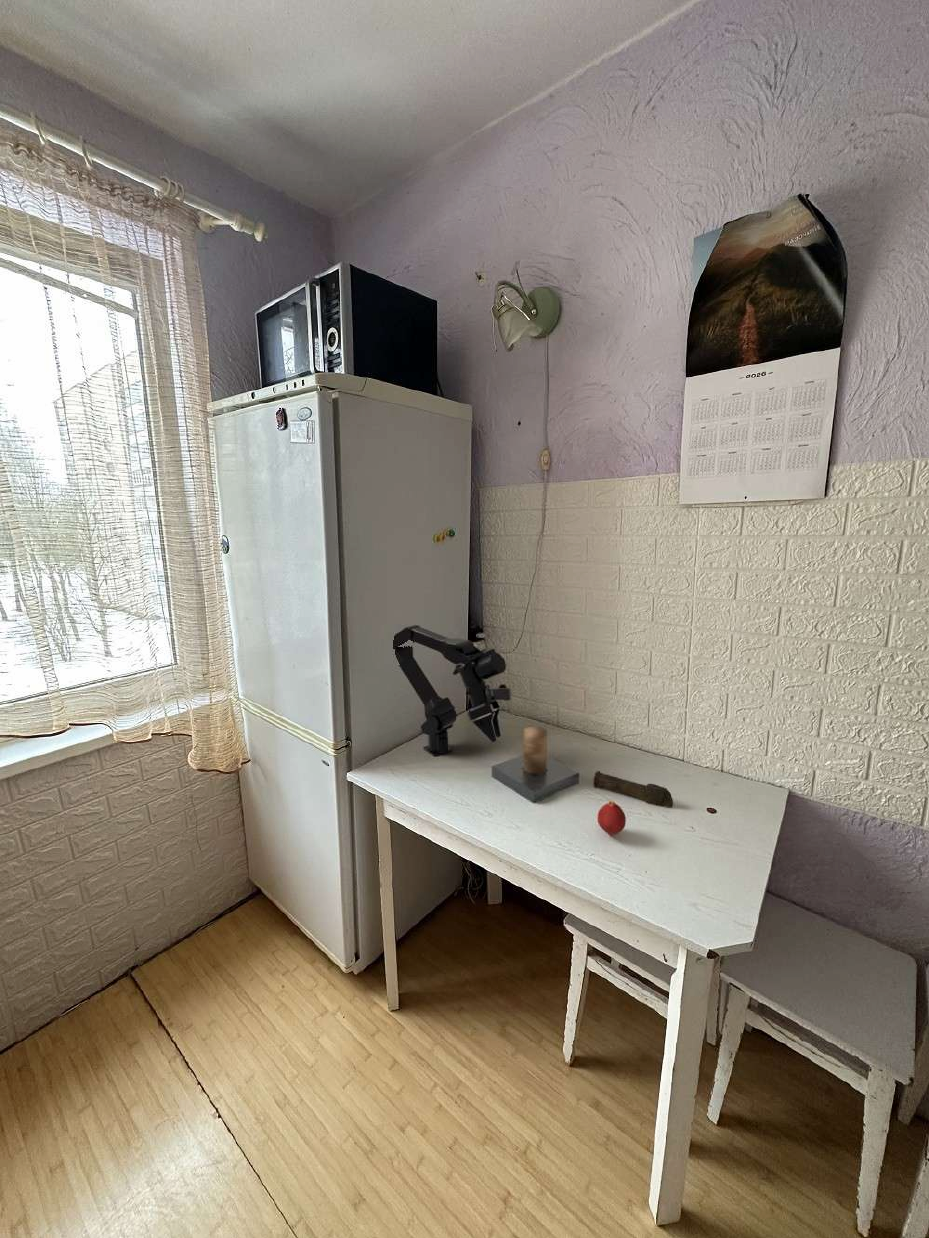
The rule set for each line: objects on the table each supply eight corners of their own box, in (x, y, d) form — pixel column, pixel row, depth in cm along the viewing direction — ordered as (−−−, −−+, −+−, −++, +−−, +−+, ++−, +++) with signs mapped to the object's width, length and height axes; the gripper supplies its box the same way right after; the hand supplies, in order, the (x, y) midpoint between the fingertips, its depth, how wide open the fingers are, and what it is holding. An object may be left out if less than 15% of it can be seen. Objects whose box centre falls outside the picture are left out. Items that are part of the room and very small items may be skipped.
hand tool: (591, 788, 128) (592, 772, 127) (597, 782, 131) (598, 766, 130) (668, 814, 116) (670, 796, 116) (673, 806, 120) (675, 789, 119)
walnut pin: (520, 781, 130) (521, 734, 127) (525, 771, 135) (526, 725, 133) (544, 785, 128) (545, 737, 126) (547, 774, 134) (549, 728, 131)
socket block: (491, 776, 134) (491, 766, 133) (535, 760, 143) (536, 750, 142) (533, 803, 121) (533, 791, 120) (578, 783, 130) (579, 772, 129)
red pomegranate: (603, 823, 112) (605, 790, 111) (629, 833, 109) (631, 799, 107) (592, 835, 108) (594, 801, 107) (618, 846, 104) (620, 811, 103)
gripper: (498, 674, 127) (522, 732, 124) (506, 673, 145) (527, 724, 143) (457, 690, 128) (480, 748, 126) (471, 687, 147) (491, 738, 144)
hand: (497, 739), depth 135 cm, fingers open, 9 cm apart
